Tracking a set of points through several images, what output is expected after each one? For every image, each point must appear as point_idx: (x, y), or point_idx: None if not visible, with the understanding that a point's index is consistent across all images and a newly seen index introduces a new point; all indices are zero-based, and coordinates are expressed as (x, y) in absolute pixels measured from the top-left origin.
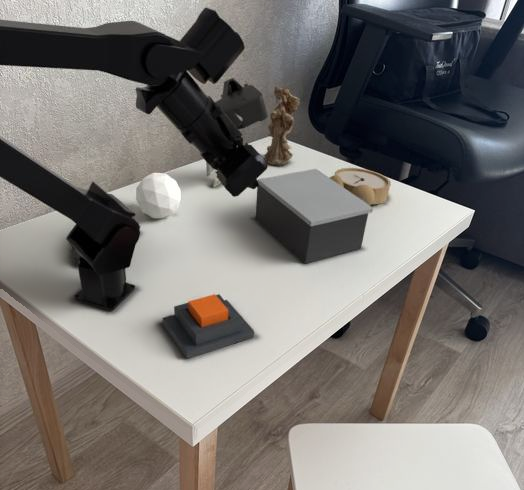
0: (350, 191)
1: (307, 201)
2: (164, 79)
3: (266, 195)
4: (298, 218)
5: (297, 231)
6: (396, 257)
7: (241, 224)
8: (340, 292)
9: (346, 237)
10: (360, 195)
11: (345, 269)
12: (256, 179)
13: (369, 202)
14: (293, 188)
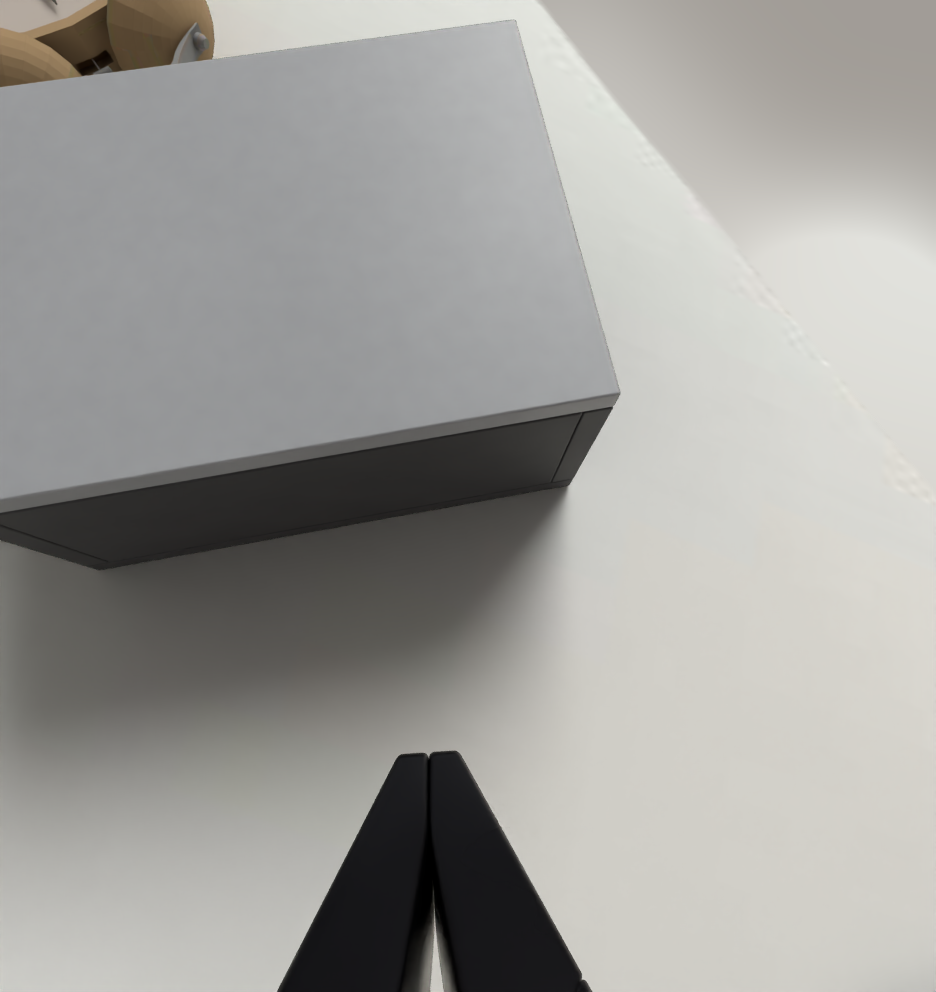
0: (99, 50)
1: (354, 313)
2: None
3: (98, 508)
4: (482, 434)
5: (484, 462)
6: (591, 125)
7: (125, 662)
8: (803, 431)
9: None
10: (173, 27)
11: (640, 340)
12: (492, 816)
13: (211, 23)
14: (151, 328)
